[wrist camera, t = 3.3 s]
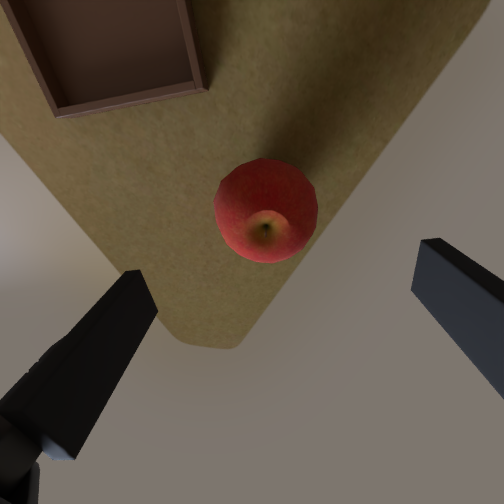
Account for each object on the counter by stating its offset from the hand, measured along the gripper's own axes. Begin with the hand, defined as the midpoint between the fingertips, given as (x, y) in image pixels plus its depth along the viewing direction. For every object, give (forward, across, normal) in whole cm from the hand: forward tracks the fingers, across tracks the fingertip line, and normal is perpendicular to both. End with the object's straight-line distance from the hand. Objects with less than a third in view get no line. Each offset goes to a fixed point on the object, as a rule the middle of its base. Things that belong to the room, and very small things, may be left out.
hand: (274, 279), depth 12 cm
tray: (+21, -14, +19) cm, 31 cm away
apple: (+21, 0, -1) cm, 21 cm away
